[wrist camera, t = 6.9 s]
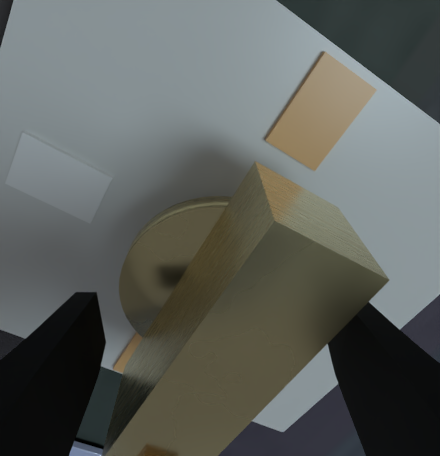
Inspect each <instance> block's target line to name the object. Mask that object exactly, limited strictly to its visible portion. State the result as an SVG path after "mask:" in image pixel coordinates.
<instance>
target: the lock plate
mask: <svg viewBox="0 0 440 456" xmlns="http://www.w3.org/2000/svg"><path fill="white" fill-rule="evenodd" d="M255 161H256V162H258V163H260V164H262V165H263V166H265V167H267V168H269V169H271V170H272V171H274V172H276V173H278V174H279V175H281V176H283V177H285V178H287V179H288V180H290V181H292V182H294V183H296V184H297V185H299V186H301V187H303V188H304V189H306V190H308V191H310V192H312V193H313V194H315V195H317V196H319V197H321V198H322V199H324V200H326V201H328V202H330V203H331V204H333V205H335V206H337V207H338V208H339V209H340V211H341V212H342V214H343V215H344V216H345V218H346V219H347V221H348V222H349V223H350V225H351V226H352V228H353V229H354V231H355V232H356V233H357V235H358V236H359V238H360V239H361V240H362V242H363V243H364V245H365V246H366V247H367V249H368V250H369V252H370V253H371V254H372V256H373V257H374V259H375V260H376V262H377V263H378V264H379V266H380V267H381V269H382V270H383V271H384V273H385V274H386V276H387V277H388V278H389V281H388V282H387V284H386V285H385V286H384V287H383V288H382V289H381V290H380V291H379V292H378V293H377V294H376V295H375V296H374V297H373V298H372V299H371V300H370V301H369V303H371V304H372V305H373V306H374V307H375V308H376V309H377V310H378V311H379V312H380V313H382V314H383V315H384V316H385V317H386V318H387V319H388V320H389V321H390V322H392V323H393V324H394V325H395V326H396V327H397V328H398V329H399V330H400V329H401V328H402V327H403V326H404V325H405V324H406V323H408V322H409V321H410V320H411V319H412V318H413V317H414V316H416V315H417V314H418V313H419V312H420V311H421V310H422V309H423V308H425V307H426V306H427V305H428V304H429V303H430V302H431V301H433V300H434V299H435V298H436V297H437V296H438V295H439V294H440V124H439V123H438V122H436V121H435V120H434V119H432V118H431V117H430V116H428V115H427V114H426V113H424V112H423V111H422V110H420V109H419V108H418V107H416V106H415V105H414V104H412V103H411V102H410V101H408V100H407V99H406V98H404V97H403V96H402V95H401V94H399V93H398V92H397V91H395V90H394V89H393V88H391V87H390V86H389V85H387V84H386V83H385V82H383V81H382V80H381V79H379V78H378V77H377V76H375V75H374V74H373V73H371V72H370V71H369V70H367V69H366V68H365V67H364V66H362V65H361V64H360V63H358V62H357V61H356V60H354V59H353V58H352V57H350V56H349V55H348V54H346V53H345V52H344V51H342V50H341V49H340V48H338V47H337V46H336V45H334V44H333V43H332V42H330V41H329V40H328V39H327V38H325V37H324V36H323V35H321V34H320V33H319V32H317V31H316V30H315V29H313V28H312V27H311V26H309V25H308V24H307V23H305V22H304V21H303V20H301V19H300V18H299V17H297V16H296V15H295V14H293V13H292V12H291V11H289V10H288V9H287V8H286V7H284V6H283V5H282V4H280V3H279V2H278V1H276V0H14V1H13V5H12V8H11V12H10V15H9V19H8V22H7V26H6V30H5V33H4V37H3V40H2V44H1V47H0V330H3V331H6V332H9V333H11V334H14V335H17V336H20V337H22V338H25V339H26V338H27V337H28V336H29V335H30V334H31V333H32V332H33V331H35V330H36V329H37V328H38V327H39V326H40V325H41V324H42V323H43V322H44V321H45V320H46V319H48V318H49V317H50V316H51V315H52V314H53V313H54V312H55V311H56V310H57V309H58V308H59V307H60V306H61V305H62V304H63V303H65V302H66V301H67V300H68V299H69V298H70V297H71V296H72V295H73V294H74V293H75V292H97V296H98V302H99V307H100V312H101V318H102V323H103V329H104V334H105V339H106V345H105V349H104V354H103V358H102V362H101V366H102V367H105V368H108V369H110V370H113V371H116V372H119V373H121V374H123V372H124V368H125V365H126V364H127V362H128V360H129V359H130V357H131V356H132V354H133V353H134V351H135V349H136V348H137V346H138V345H139V343H140V342H141V340H142V337H141V336H140V335H139V334H138V333H137V332H136V330H135V329H134V328H133V327H132V325H131V324H130V322H129V321H128V319H127V318H126V315H125V313H124V311H123V309H122V305H121V301H120V296H119V278H120V274H121V270H122V266H123V264H124V261H125V258H126V256H127V253H128V251H129V248H130V246H131V244H132V242H133V240H134V238H135V237H136V235H137V234H138V232H139V231H140V230H141V229H142V228H143V226H144V225H145V224H146V223H147V222H148V221H150V220H151V219H152V218H153V217H154V216H156V215H157V214H159V213H160V212H162V211H163V210H165V209H167V208H169V207H171V206H173V205H175V204H178V203H181V202H184V201H187V200H190V199H195V198H200V197H209V196H228V197H233V195H234V193H235V192H236V190H237V189H238V187H239V185H240V184H241V182H242V181H243V179H244V178H245V176H246V174H247V173H248V171H249V170H250V168H251V167H252V165H253V163H254V162H255ZM337 384H338V381H337V378H336V376H335V372H334V368H333V364H332V361H331V356H330V352H329V348H328V344H327V345H326V346H325V347H324V348H323V349H322V350H321V351H320V352H319V353H318V354H317V355H316V356H315V357H314V358H313V359H312V360H311V361H310V362H309V363H308V364H307V365H306V366H305V367H304V368H303V369H302V370H301V371H300V372H299V373H298V374H297V375H296V376H295V377H294V378H293V379H292V380H291V381H290V382H289V383H288V384H287V385H286V387H285V388H284V389H283V390H282V391H281V392H280V393H279V394H278V395H277V396H276V397H275V398H274V399H273V400H272V401H271V402H270V403H269V404H268V405H267V406H266V407H265V408H264V409H263V410H262V411H261V412H260V413H259V414H258V415H257V416H256V417H255V418H254V419H253V420H252V421H253V422H256V423H259V424H261V425H264V426H267V427H270V428H272V429H275V430H278V431H281V432H284V431H285V430H286V429H287V428H288V427H290V426H291V425H292V424H293V423H294V422H295V421H296V420H298V419H299V418H300V417H301V416H302V415H303V414H304V413H305V412H307V411H308V410H309V409H310V408H311V407H312V406H313V405H315V404H316V403H317V402H318V401H319V400H320V399H321V398H322V397H324V396H325V395H326V394H327V393H328V392H329V391H330V390H332V389H333V388H334V387H335V386H336V385H337Z"/></svg>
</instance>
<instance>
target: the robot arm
mask: <svg viewBox="0 0 440 456" xmlns="http://www.w3.org/2000/svg"><path fill="white" fill-rule="evenodd" d="M105 345H106V339H105V334H104V329H103V323H102V318H101V312H100V307H99V302H98V296H97V292H75V293H74V294H73V295H72V296H71V297H70V298H69V299H68V300H67V301H66V302H65V303H63V304H62V305H61V306H60V307H59V308H58V309H57V310H56V311H55V312H54V313H53V314H52V315H51V316H50V317H49V318H48V319H46V320H45V321H44V322H43V323H42V324H41V325H40V326H39V327H38V328H37V329H36V330H35V331H33V332H32V333H31V334H30V335H29V336H28V337H27V338H26V339H25V340H23V341H22V342H21V343H20V344H19V345H18V346H17V347H16V348H14V349H13V350H12V351H11V352H10V353H8V354H7V355H6V356H5V357H4V358H2V359H1V360H0V456H102V452H103V449H101V448H97V447H94V446H90V445H87V444H84V443H80V442H77V441H74V440H75V438H76V435H77V432H78V430H79V427H80V424H81V421H82V419H83V416H84V413H85V411H86V408H87V405H88V403H89V400H90V397H91V394H92V392H93V389H94V386H95V383H96V380H97V378H98V375H99V371H100V366H101V362H102V358H103V354H104V349H105ZM328 348H329V352H330V356H331V361H332V364H333V368H334V372H335V376H336V378H337V381H338V384H339V386H340V389H341V392H342V394H343V397H344V400H345V402H346V405H347V407H348V410H349V413H350V415H351V418H352V420H353V423H354V426H355V428H356V431H357V433H358V436H359V439H360V441H361V444H362V446H363V449H364V452H365V454H366V456H440V363H439V362H437V361H436V360H435V359H433V358H432V357H431V356H430V355H429V354H427V353H426V352H425V351H424V350H423V349H421V348H420V347H419V346H418V345H417V344H415V343H414V342H413V341H412V340H411V339H410V338H408V337H407V336H406V335H405V334H404V333H403V332H402V331H400V330H399V329H398V328H397V327H396V326H395V325H394V324H393V323H392V322H390V321H389V320H388V319H387V318H386V317H385V316H384V315H383V314H382V313H380V312H379V311H378V310H377V309H376V308H375V307H374V306H373V305H372V304H371V303H369V302H368V303H367V304H366V305H365V306H364V307H363V308H362V309H361V310H360V311H359V312H358V313H357V314H356V315H355V316H354V317H353V318H352V319H351V320H350V321H349V322H348V323H347V324H346V325H345V326H344V327H343V328H342V329H341V330H340V331H339V332H338V333H337V334H336V336H335V337H334V338H333V339H332V340H331V341H330V342H329V343H328Z"/></svg>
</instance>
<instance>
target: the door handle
mask: <svg viewBox="0 0 440 456" xmlns="http://www.w3.org/2000/svg"><path fill="white" fill-rule="evenodd" d="M388 281H389V278H388V277H387V276H386V274H385V273H384V271H383V270H382V269H381V267H380V266H379V264H378V263H377V262H376V260H375V259H374V257H373V256H372V254H371V253H370V252H369V250H368V249H367V247H366V246H365V245H364V243H363V242H362V240H361V239H360V238H359V236H358V235H357V233H356V232H355V231H354V229H353V228H352V226H351V225H350V223H349V222H348V221H347V219H346V218H345V216H344V215H343V214H342V212H341V211H340V209H339V208H338V207H337V206H335V205H333V204H331V203H330V202H328V201H326V200H324V199H322V198H321V197H319V196H317V195H315V194H313V193H312V192H310V191H308V190H306V189H304V188H303V187H301V186H299V185H297V184H296V183H294V182H292V181H290V180H288V179H287V178H285V177H283V176H281V175H279V174H278V173H276V172H274V171H272V170H271V169H269V168H267V167H265V166H263V165H262V164H260V163H258V162H256V161H255V162H254V163H253V165H252V167H251V168H250V170H249V171H248V173H247V174H246V176H245V178H244V179H243V181H242V182H241V184H240V185H239V187H238V189H237V190H236V192H235V193H234V195H233V197H228V196H209V197H200V198H195V199H190V200H187V201H184V202H181V203H178V204H175V205H173V206H171V207H169V208H167V209H165V210H163V211H162V212H160V213H159V214H157V215H156V216H154V217H153V218H152V219H151V220H150V221H148V222H147V223H146V224H145V225H144V226H143V228H142V229H141V230H140V231H139V232H138V234H137V235H136V237H135V238H134V240H133V242H132V244H131V246H130V248H129V251H128V253H127V256H126V258H125V261H124V264H123V266H122V270H121V274H120V278H119V296H120V301H121V305H122V309H123V311H124V313H125V315H126V318H127V319H128V321H129V322H130V324H131V325H132V327H133V328H134V329H135V330H136V332H137V333H138V334H139V335H140V336H141V337H142V340H141V342H140V343H139V345H138V346H137V348H136V349H135V351H134V353H133V354H132V356H131V357H130V359H129V360H128V362H127V364H126V365H125V368H124V372H123V376H122V379H121V383H120V387H119V391H118V395H117V399H116V402H115V406H114V410H113V414H112V418H111V422H110V425H109V429H108V433H107V437H106V441H105V445H104V448H103V452H102V456H218V455H219V454H220V453H221V452H222V451H223V450H224V449H225V448H226V447H227V446H228V445H229V444H230V443H231V442H232V441H233V440H234V439H235V437H236V436H237V435H238V434H239V433H240V432H241V431H242V430H243V429H244V428H245V427H246V426H247V425H248V424H249V423H250V422H251V421H252V420H253V419H254V418H255V417H256V416H257V415H258V414H259V413H260V412H261V411H262V410H263V409H264V408H265V407H266V406H267V405H268V404H269V403H270V402H271V401H272V400H273V399H274V398H275V397H276V396H277V395H278V394H279V393H280V392H281V391H282V390H283V389H284V388H285V387H286V385H287V384H288V383H289V382H290V381H291V380H292V379H293V378H294V377H295V376H296V375H297V374H298V373H299V372H300V371H301V370H302V369H303V368H304V367H305V366H306V365H307V364H308V363H309V362H310V361H311V360H312V359H313V358H314V357H315V356H316V355H317V354H318V353H319V352H320V351H321V350H322V349H323V348H324V347H325V346H326V345H327V344H328V343H329V342H330V341H331V340H332V339H333V338H334V337H335V336H336V334H337V333H338V332H339V331H340V330H341V329H342V328H343V327H344V326H345V325H346V324H347V323H348V322H349V321H350V320H351V319H352V318H353V317H354V316H355V315H356V314H357V313H358V312H359V311H360V310H361V309H362V308H363V307H364V306H365V305H366V304H367V303H368V302H369V301H370V300H371V299H372V298H373V297H374V296H375V295H376V294H377V293H378V292H379V291H380V290H381V289H382V288H383V287H384V286H385V285H386V284H387V282H388Z"/></svg>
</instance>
